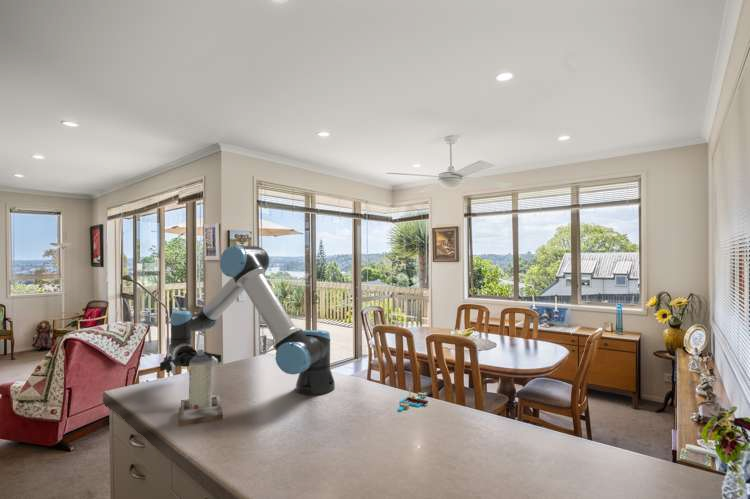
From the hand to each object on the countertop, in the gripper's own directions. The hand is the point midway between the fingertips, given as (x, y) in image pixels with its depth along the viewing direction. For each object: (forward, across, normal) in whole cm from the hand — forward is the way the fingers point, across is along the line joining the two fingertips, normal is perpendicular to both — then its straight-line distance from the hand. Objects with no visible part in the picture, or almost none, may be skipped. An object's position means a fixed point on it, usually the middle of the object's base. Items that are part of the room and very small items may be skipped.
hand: (196, 367), depth 138 cm
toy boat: (+38, -66, -15) cm, 77 cm away
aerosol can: (+6, 0, -13) cm, 14 cm away
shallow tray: (+6, 0, -15) cm, 16 cm away
